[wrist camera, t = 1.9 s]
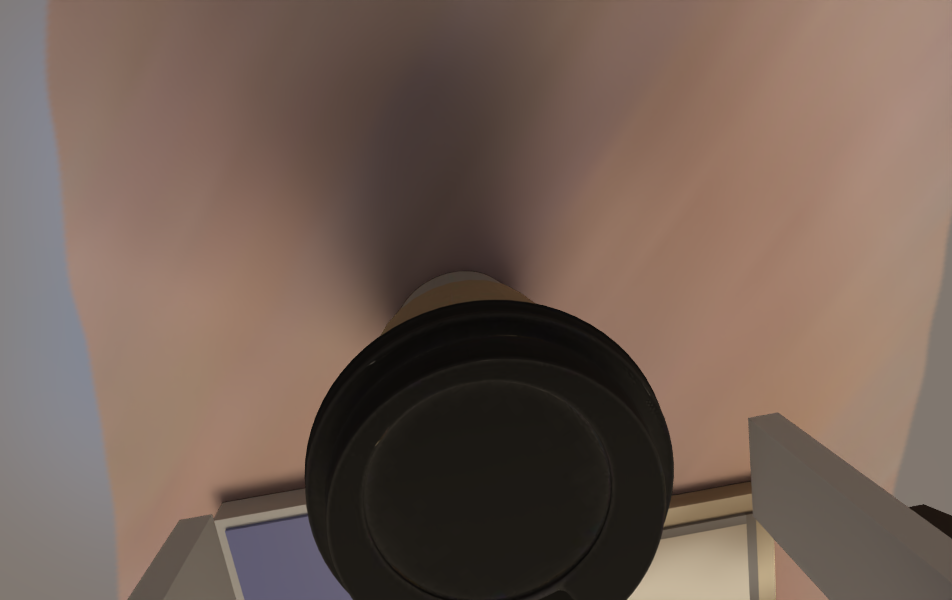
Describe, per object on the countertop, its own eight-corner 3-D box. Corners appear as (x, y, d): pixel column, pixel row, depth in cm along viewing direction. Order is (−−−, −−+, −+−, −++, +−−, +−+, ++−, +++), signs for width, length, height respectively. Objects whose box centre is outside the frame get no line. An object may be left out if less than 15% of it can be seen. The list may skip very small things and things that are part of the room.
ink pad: (222, 503, 30) (210, 523, 28) (450, 462, 30) (451, 481, 29) (275, 687, 33) (267, 716, 31) (482, 647, 33) (486, 674, 32)
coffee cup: (468, 461, 30) (510, 752, 16) (313, 341, 28) (200, 549, 14) (603, 320, 29) (780, 494, 15) (451, 183, 27) (486, 230, 13)
